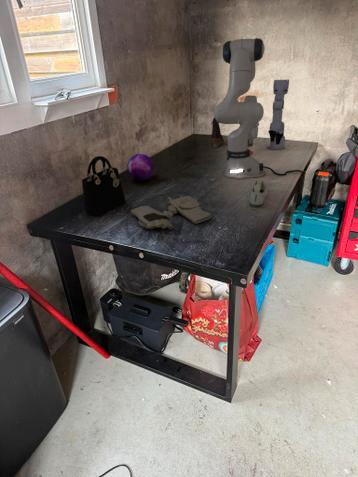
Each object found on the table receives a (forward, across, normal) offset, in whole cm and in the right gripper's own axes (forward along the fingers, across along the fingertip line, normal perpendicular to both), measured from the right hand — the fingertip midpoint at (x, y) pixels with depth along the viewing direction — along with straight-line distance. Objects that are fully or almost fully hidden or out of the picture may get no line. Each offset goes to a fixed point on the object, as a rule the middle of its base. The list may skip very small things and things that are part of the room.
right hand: (274, 142), depth 213 cm
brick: (+4, -15, -12) cm, 19 cm away
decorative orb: (+8, +16, -90) cm, 91 cm away
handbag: (+8, +49, -110) cm, 121 cm away
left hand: (+2, -15, -12) cm, 19 cm away
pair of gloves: (+8, +69, -83) cm, 108 cm away
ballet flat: (+8, +61, -37) cm, 72 cm away
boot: (+8, -44, -25) cm, 51 cm away
